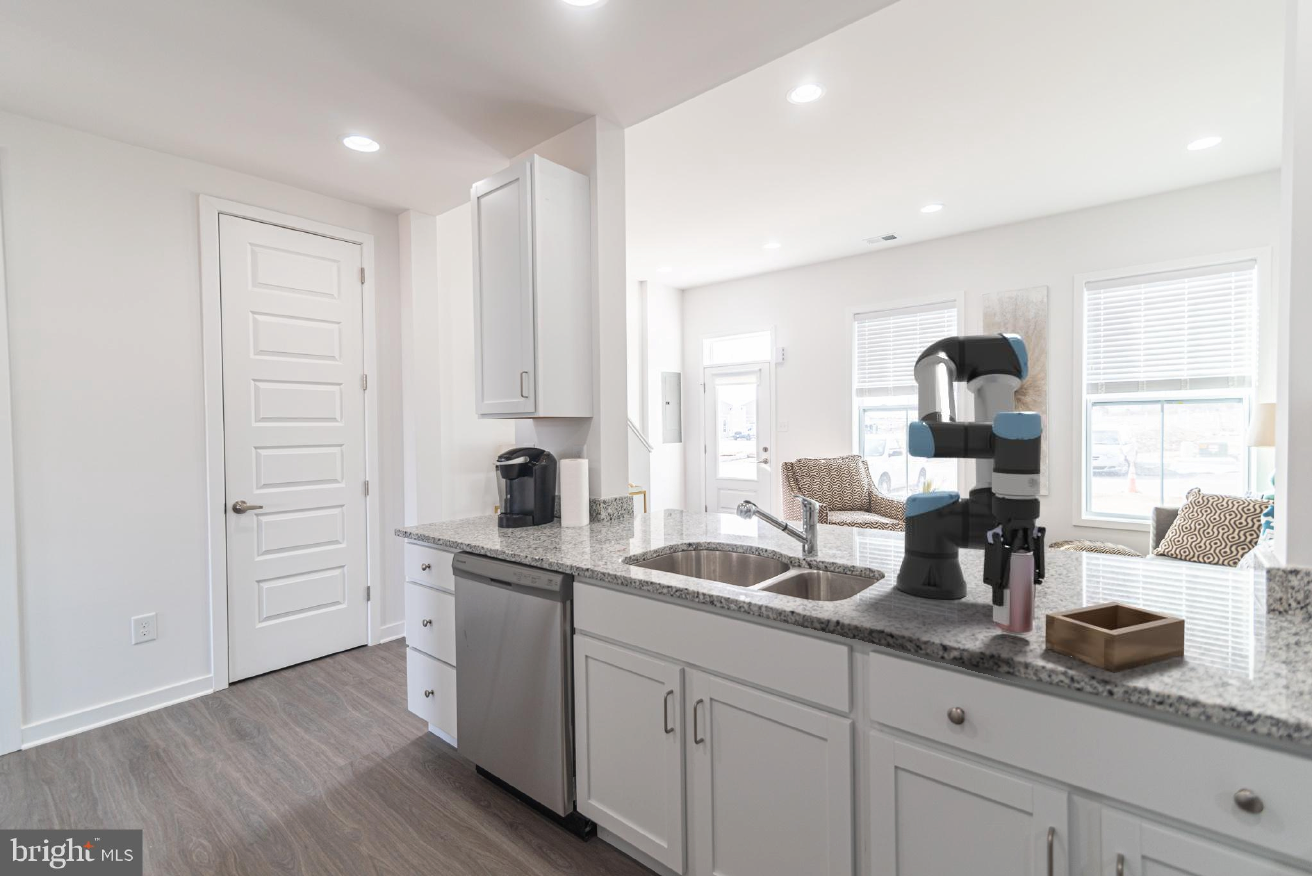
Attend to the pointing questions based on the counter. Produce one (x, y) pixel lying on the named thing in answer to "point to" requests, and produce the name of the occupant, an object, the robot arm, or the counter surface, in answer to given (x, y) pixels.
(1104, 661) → the tray
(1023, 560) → the beverage can
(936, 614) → the counter surface
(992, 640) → the counter surface
